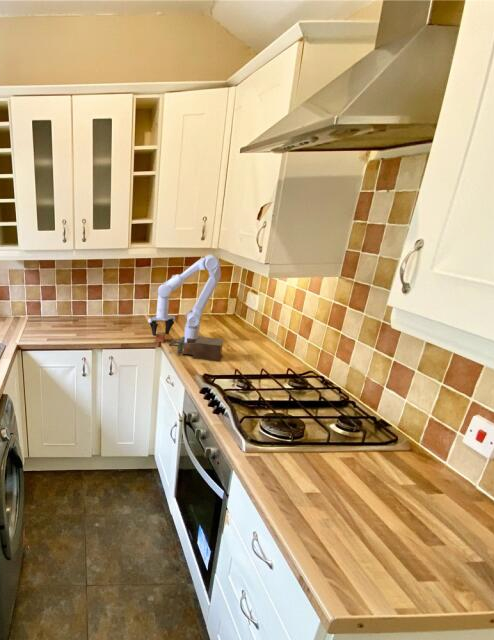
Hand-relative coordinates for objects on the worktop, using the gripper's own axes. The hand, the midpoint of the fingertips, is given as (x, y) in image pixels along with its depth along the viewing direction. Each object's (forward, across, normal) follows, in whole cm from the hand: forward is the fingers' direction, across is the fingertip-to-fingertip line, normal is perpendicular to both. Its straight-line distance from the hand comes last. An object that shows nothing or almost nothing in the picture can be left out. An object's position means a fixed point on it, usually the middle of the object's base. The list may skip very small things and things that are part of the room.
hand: (160, 334), depth 213 cm
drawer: (+3, +1, -21) cm, 22 cm away
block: (+3, 0, 0) cm, 3 cm away
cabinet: (+3, +8, -29) cm, 30 cm away
